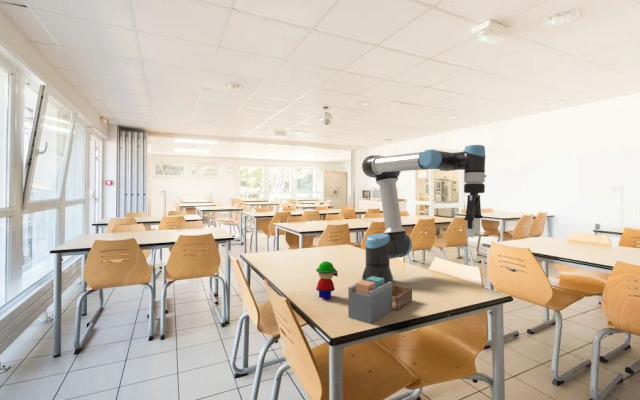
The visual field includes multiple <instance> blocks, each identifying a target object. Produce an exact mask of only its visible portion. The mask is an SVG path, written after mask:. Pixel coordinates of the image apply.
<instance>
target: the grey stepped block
mask: <svg viewBox="0 0 640 400" xmlns="http://www.w3.org/2000/svg"><path fill="white" fill-rule="evenodd" d="M365 281H366V280H365ZM392 285H393V284H392V282H390V281H389V282H387V283H385V284H383V285H381V286H379V287H377V288H375V289H373V290H371V291H369V294H364V293H359V292H356V283H354V285H353V284H352V285H351V286H348V287H347V288H348V295H347V296H348V299H347V301H348V302H347V303H348V309H347V310H348V311H347V312H348V315H347V316H348V318H350V319H353V320H358V321H361V322H362V323H363V322H364V323H367V324H373V323H375V322H376V321H378V320H379V319H380V318H382V317H384V316H385V315H386V314H388V313H389V312H391V311H393V310H392Z"/></svg>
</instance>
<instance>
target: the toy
mask: <svg viewBox="0 0 640 400" xmlns="http://www.w3.org/2000/svg"><path fill="white" fill-rule="evenodd" d="M315 271H316V272H317V273H318V276H319V280H318V282H317V285H316V288H315V290H316V291H317V292H318V297H319V298H322V299H324V300H327V301H328V300H332V299H331V298H332V292H333V291H335V289H336V288H335V286H334V285H335V284H334V282H333V280H332V279H333V277H338V270H337V269H336V268H335V267H334V265H333V263H332V262H331V261H327V260H326V261H323V262H320V264H319V266H318V268H316V269H315Z"/></svg>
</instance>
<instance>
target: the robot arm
mask: <svg viewBox="0 0 640 400" xmlns="http://www.w3.org/2000/svg"><path fill="white" fill-rule="evenodd" d="M361 164H362V165H361V169H362V171H363V173H364V175H366V176H367V177H368V178H375V182H376V184H377V185H379V192H380V198H381V200H380V201H381V207H382V213H383V220H384V221H383V222H384V228H385V230H384V231H383V233H372V234H369V235H368V236H366V239H365V267H364V270H363V273H362V277H361V278H362V279H361V281H362V280H366V279H367V278H369V277H371V276H374V277H380V278H384V283H387V282H389V281H390V282H392V285H394V277H393V273H392V270H391V267H390V264H391V263H390V261H391V259H392V260H393V259H396V258H403V257H406V256H408V255H409V254H410V253H411V251H412V248H413V242H412V238H411V237H410V236H409V235H407V233H406V232H407V231H406V229H404V228H403V224H402V223H403V222H402V217H401V211H400V205H399V197H398V189H397V181H399V178H398V177H400V174H401V173H402V172H407V171H420V170H439V171H443V172H444V171H445V172H449V171H460V170H463V171H464V173H463V175H464V177H463V183H465V184H463V192H464V193H465V194H468V195H467V199H466V201H467V202H466V209H465V210H466V211H465V217H463V219H464V221H465V222H466V223H465V224H466V227H465V228H466V229H465V231H466V232H465V233H466V234H465V236H466V238H475V234H479V235H481V219H483V215H482V207H481V206H482V205H481V194H484V193H485V187H486V185H485V180H486V178H487V174H486V147H485V146H484V145H482V144H470V145H466V146H465V147H464V150H463V151H461V152H459V151H458V152H451V151H450V152H449V151H441V150H435V149H426V150H423V151H420V152H411V153H404V154H394V155H386V156H384V155H383V156H382V155H380V154H375V155H374V154H373V155H372V154H371V155H369V156H366V157H365V158H364V160H363V161H362V163H361Z"/></svg>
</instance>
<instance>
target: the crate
mask: <svg viewBox="0 0 640 400" xmlns="http://www.w3.org/2000/svg"><path fill="white" fill-rule="evenodd" d="M384 284H385V283H384ZM412 301H413V288H410V287H406V286H400V285H396V284H392V310H391V311H396V312H398V311H400V310H401V309H402V308H404V307H405V306H407V305H409V304H410V303H411V302H412Z"/></svg>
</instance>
